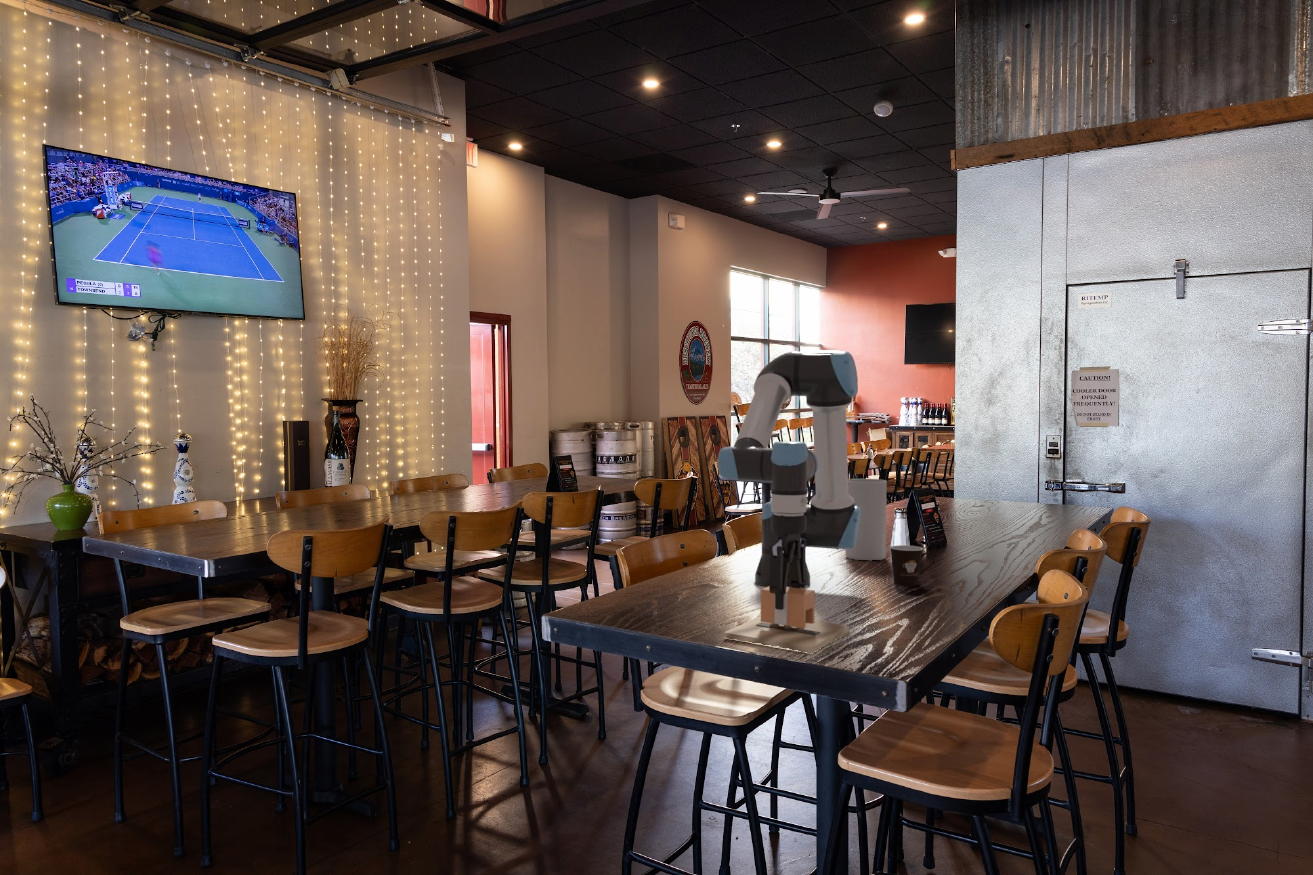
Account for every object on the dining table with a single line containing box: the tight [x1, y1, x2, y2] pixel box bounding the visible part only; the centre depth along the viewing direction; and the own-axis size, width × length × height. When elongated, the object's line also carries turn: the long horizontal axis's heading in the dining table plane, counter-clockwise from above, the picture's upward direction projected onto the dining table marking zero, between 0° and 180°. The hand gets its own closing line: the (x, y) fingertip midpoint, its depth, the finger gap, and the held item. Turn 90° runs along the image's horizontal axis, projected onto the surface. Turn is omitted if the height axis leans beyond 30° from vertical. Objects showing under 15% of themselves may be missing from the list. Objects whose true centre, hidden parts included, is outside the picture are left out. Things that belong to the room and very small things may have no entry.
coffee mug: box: [889, 544, 936, 587], centre depth 243 cm, size 12×9×10 cm
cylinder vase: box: [844, 478, 888, 562], centre depth 282 cm, size 12×12×25 cm
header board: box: [723, 615, 850, 655], centre depth 189 cm, size 20×20×4 cm
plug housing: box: [760, 586, 816, 628], centre depth 189 cm, size 10×6×7 cm, turn 56°
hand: (787, 620), depth 189 cm, fingers closed on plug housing, 6 cm apart
